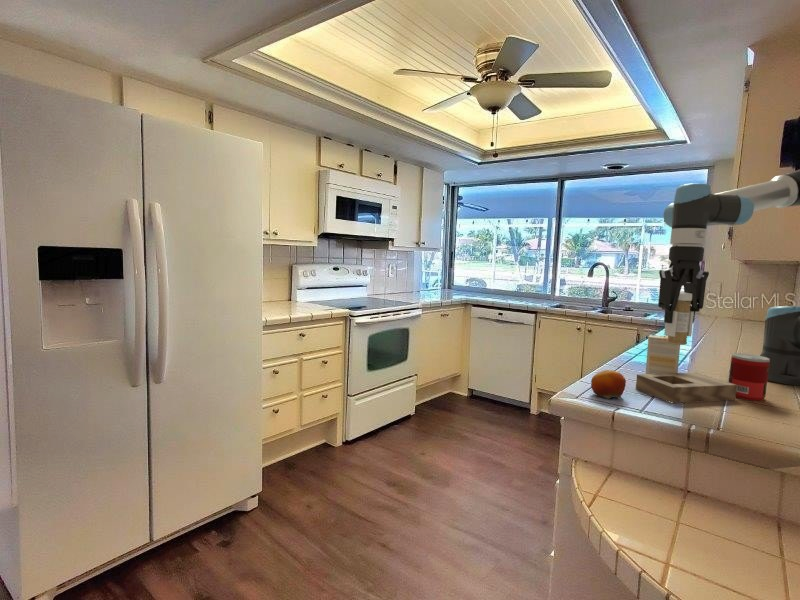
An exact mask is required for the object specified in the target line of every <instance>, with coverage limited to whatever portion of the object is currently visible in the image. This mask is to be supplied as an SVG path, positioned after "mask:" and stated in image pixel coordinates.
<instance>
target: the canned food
mask: <svg viewBox="0 0 800 600" xmlns="http://www.w3.org/2000/svg"><path fill="white" fill-rule="evenodd" d="M769 364H770V359H769V358H767V357H763V356H760V355H758V354H752V353H750V354H749V353H741V352H740V353H739V352H738V353H737V352H735V353H732V354H731V358H730V366H729V367H730V368H729V376H728V382H729V383H732V384H736V385H737V388H736V397H737V399H740V398H741V400H745V401H746V400H747V401H752V402H753V401H755V402H761V401H764V400H765V398H766V396H767V395H766V393H767V386H768V372H769ZM736 397H735V398H736Z"/></svg>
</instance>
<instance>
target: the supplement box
mask: <svg viewBox="0 0 800 600" xmlns="http://www.w3.org/2000/svg"><path fill="white" fill-rule="evenodd" d="M667 339H668V335H657V334H649V336H648V337H647V348H646V349H647V351H646V360H645V361H646V362H645V373H644V374H666V373H679V361H680V351H681V345H678V344H671V343H668V342H667Z"/></svg>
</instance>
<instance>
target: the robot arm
mask: <svg viewBox="0 0 800 600" xmlns="http://www.w3.org/2000/svg"><path fill="white" fill-rule="evenodd" d="M711 190H712V188H711V185H710V184H708V183H702V182H700V183H697V182H696V183H685V184H681V185H680V186H678V187H676V190H675V194H674V199H673V202H671V203H670V204H668V205H667V206H666V207H665V209H664V211H663V221H664V222H665V224H666V226H668V227H670V228H671V232H670V240H669V244H670V245H672V246H670V247H669V250H668V251H669V252H668V260H669V262H670V263H669V266H668V268H666V269H660V270H659V271H658V272H659V273H658V274H659V278H660V280H659V281H660V282H659V292H658V305H657V306H658V308H660V309H661V310H662V311H663V310H664V318H663V321H664V322H663V323H665V324H664V332H663V333H664V335H663V336H672V337H675V333H676V323H677V313H678V312H677V311H674V310H675V308H676V305H677V301H678V298H679V294H680V292H682V287H683V292H685V293H691V294H692V301H691V304H690V317H689V327H688V333H687V337H692V334H693V333H692V332H693V324H694V323H695V319H696V318H695V316H696V313H698V312H700V310H702V309H703V308H704V302H705V294H706V287H707V285H706V284H707V280H708V277H709V275H710V273H709V272H710V271H708V270H705V271H704V270H702V269H701V265H700V264H701V262H702V261H703V260H704V255H705V248H704V247H703V245H705V244H706V243H705V242H706V235H707V234H706V233H707V228H708V227H707V226H709V227H710V226H720V225H721V226H725V225H726V226H740V225H743V224H746V223H748V221H749V220H750V219H751V218H752V217H753V215H754V212H756V211H757V212H758V211H761V210H765V209H769V208H777V209H785V208H790V207H798V206H800V169H798V170H794V171H791V172H788V173H784V174H780V175H776V176H774V177H772V178H771V179H770V180H769V181H766V182H761V183H756V184H751V185H747V186H744V187H740V188H735V189H731V190H730V189H729V190H727V191H722V192H717V193H712V191H711ZM764 320H765V322H764V330H763V331H764V332H763V339H762V340H763V342H762V349H761V353H760V354H759V356H763V357H767V358H769V359H770V364H769V372H768V380H767V382H768V381H769V382H774V383H778V384H783V385H784V384H785V385H791V386H800V306H796V305H795V306H794V305H793V306H788V305H785V306H784V305H781V306H772V307H770V308H768V309H767V313H766V317H765V319H764Z"/></svg>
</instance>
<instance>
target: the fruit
mask: <svg viewBox="0 0 800 600" xmlns="http://www.w3.org/2000/svg"><path fill="white" fill-rule="evenodd" d="M626 382H627V380H626V378H625V377H624V375H623V374H622V373H620V372H619V371H616V370H610V369H609V370H608V369H607V370H603V371H599V372H597V373H595V374H594V375H593V376H592V378H591V380H590V383H591V385H590V388H591V389H592V392H593V393H594V394H595V395H596V396H597V397H599V398H605V399H608V400H610V399H611V398H620V399H621V400H622V401H624V398H623V397H622V395H623V393H624V392H625V389H626Z"/></svg>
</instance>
